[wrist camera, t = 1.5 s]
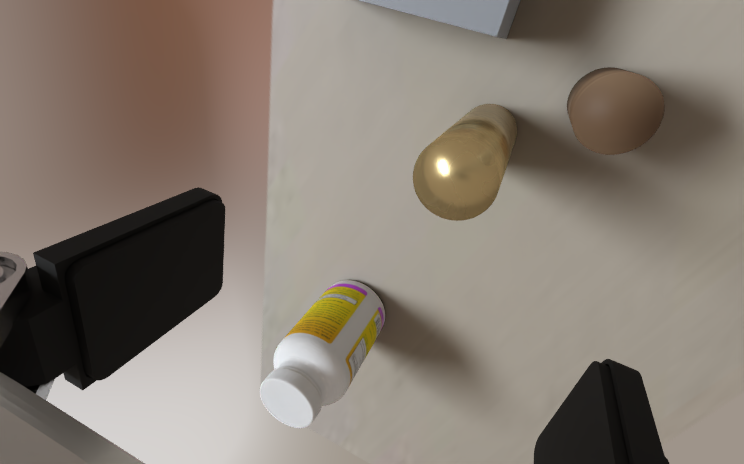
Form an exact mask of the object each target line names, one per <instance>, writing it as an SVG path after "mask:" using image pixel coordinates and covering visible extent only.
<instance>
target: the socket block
mask: <svg viewBox="0 0 744 464" xmlns="http://www.w3.org/2000/svg"><path fill="white" fill-rule="evenodd" d="M360 1H364V2H368V3H371V4H375V5H379V6H383V7H386V8H390V9H394V10H398V11H401V12H405V13H409V14H413V15H416V16H420V17H424V18H428V19H432V20H435V21H439V22H443V23H447V24H450V25H454V26H458V27H462V28H465V29H469V30H473V31H477V32H481V33H484V34H488V35H492V36H496V37H500V38H505V39H507V36H508V33H509V31H510V28H511V25H512V22H513V19H514V17H515V14H516V11H517V8H518V6H519V3H520V0H360Z"/></svg>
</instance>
